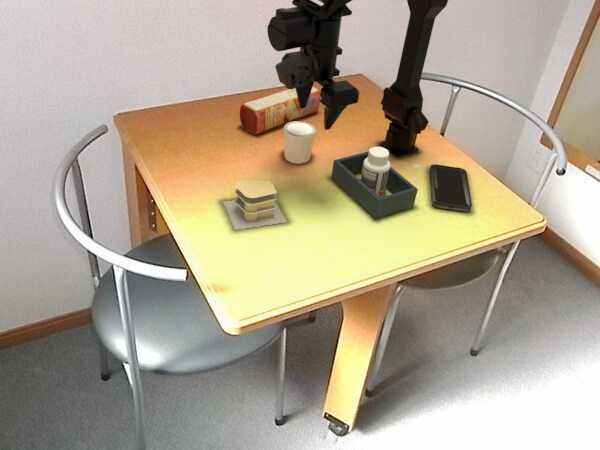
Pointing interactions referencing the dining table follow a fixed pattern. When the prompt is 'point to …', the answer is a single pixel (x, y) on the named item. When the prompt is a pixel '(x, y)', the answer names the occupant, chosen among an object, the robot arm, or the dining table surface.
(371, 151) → the pill bottle
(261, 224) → the stacked layers on plate
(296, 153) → the white cup
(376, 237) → the dining table surface
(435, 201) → the phone
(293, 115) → the snack package
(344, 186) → the bin
